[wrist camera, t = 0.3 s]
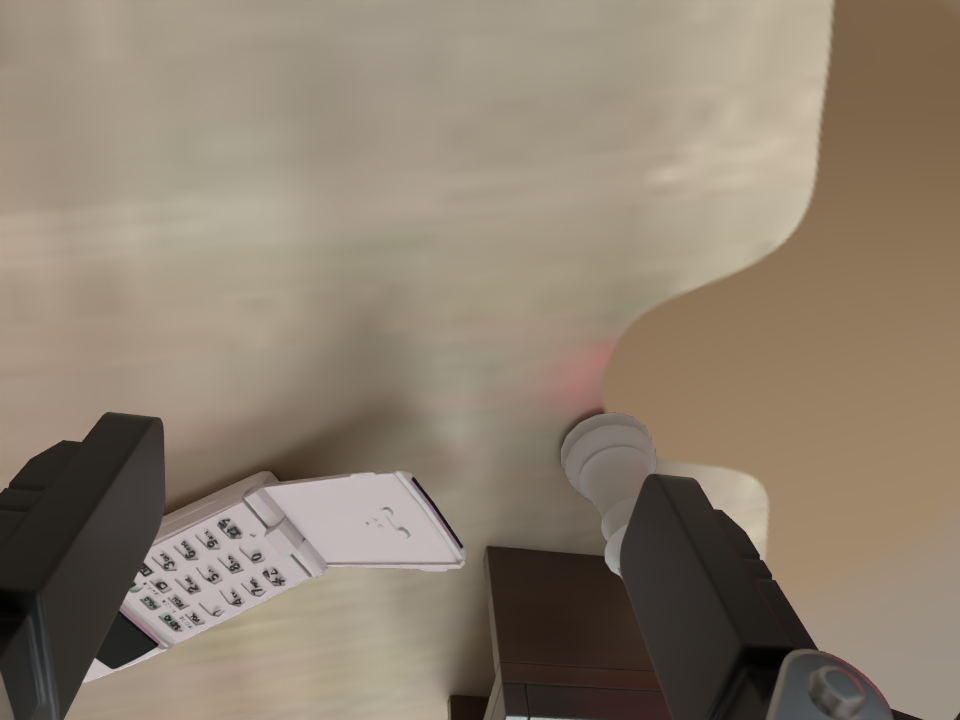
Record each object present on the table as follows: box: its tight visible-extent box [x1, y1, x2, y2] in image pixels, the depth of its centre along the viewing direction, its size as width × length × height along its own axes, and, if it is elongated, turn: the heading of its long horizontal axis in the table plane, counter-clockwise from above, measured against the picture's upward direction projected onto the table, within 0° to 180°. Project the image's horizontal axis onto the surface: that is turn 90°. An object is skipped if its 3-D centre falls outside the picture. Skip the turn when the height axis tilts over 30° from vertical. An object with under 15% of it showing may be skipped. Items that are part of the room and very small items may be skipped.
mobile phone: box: [82, 470, 465, 683], centre depth 31 cm, size 6×6×25 cm
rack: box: [447, 547, 672, 720], centre depth 35 cm, size 13×10×10 cm
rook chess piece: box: [561, 413, 656, 580], centre depth 29 cm, size 4×4×8 cm
